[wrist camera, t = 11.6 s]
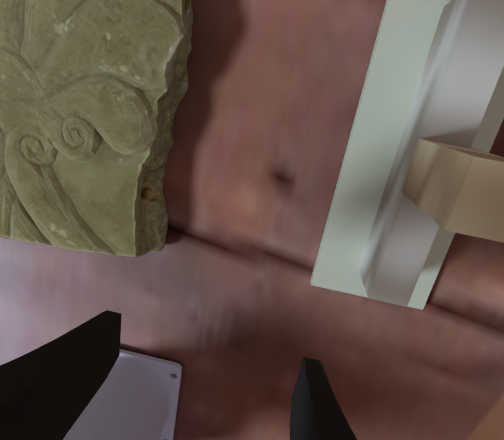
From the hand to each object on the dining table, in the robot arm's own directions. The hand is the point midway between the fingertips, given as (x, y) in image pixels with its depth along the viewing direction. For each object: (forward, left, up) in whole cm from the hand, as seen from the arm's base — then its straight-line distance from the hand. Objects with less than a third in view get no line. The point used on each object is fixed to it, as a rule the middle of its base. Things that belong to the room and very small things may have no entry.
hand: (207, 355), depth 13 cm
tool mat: (+7, -8, -9) cm, 14 cm away
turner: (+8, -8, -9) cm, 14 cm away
